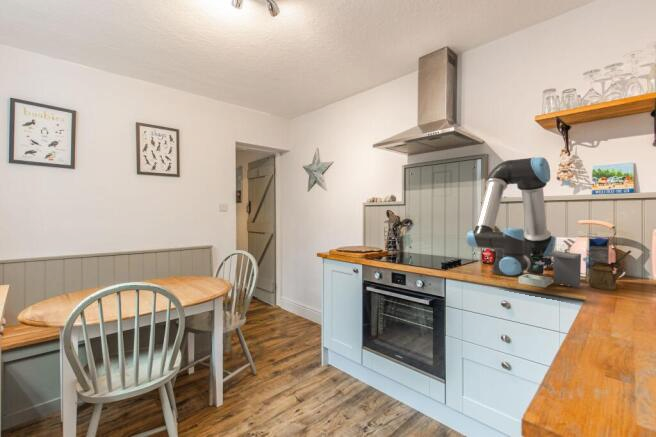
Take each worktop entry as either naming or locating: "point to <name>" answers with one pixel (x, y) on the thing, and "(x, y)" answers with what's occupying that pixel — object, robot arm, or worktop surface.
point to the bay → (566, 268)
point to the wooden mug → (606, 274)
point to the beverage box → (595, 254)
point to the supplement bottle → (536, 253)
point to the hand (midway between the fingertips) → (538, 258)
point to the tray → (535, 280)
